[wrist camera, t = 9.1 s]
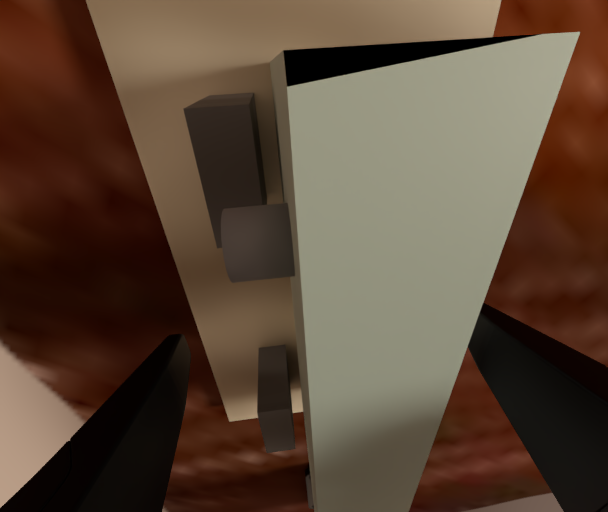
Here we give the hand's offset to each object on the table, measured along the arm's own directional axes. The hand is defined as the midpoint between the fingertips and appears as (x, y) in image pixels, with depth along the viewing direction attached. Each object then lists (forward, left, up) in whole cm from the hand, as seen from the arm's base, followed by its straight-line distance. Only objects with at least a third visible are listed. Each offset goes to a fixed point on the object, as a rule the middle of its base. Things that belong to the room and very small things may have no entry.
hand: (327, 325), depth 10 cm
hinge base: (0, 0, -4) cm, 4 cm away
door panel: (0, 0, -2) cm, 3 cm away
